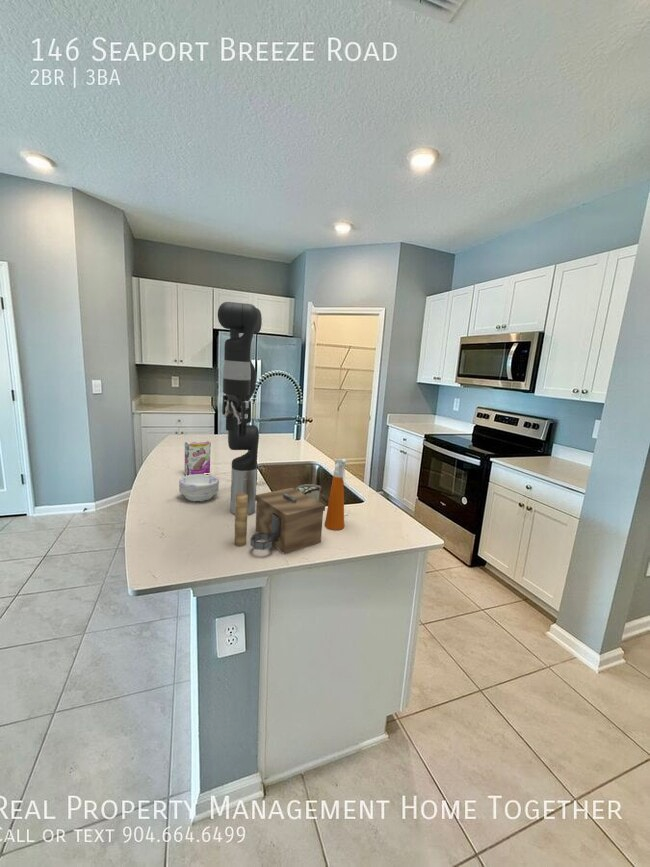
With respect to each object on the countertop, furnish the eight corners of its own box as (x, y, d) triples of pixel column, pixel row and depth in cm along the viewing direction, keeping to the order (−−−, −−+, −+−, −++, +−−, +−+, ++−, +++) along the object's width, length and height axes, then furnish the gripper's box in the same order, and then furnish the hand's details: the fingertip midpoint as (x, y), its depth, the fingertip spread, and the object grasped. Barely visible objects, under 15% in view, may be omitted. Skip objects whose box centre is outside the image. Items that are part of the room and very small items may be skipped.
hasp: (247, 542, 107) (247, 517, 106) (271, 535, 112) (272, 511, 111) (257, 551, 102) (258, 526, 101) (282, 544, 108) (283, 519, 106)
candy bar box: (187, 477, 168) (187, 444, 165) (184, 474, 172) (184, 441, 169) (210, 474, 175) (211, 442, 172) (206, 471, 179) (207, 440, 176)
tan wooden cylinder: (232, 542, 111) (233, 494, 108) (242, 539, 114) (244, 492, 111) (237, 547, 109) (238, 498, 106) (248, 544, 111) (249, 496, 108)
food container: (308, 504, 146) (309, 481, 144) (319, 509, 142) (321, 485, 140) (287, 513, 136) (288, 488, 134) (298, 518, 133) (300, 492, 131)
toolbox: (253, 530, 120) (255, 491, 118) (290, 520, 130) (292, 484, 127) (284, 555, 106) (286, 511, 104) (322, 542, 116) (325, 501, 113)
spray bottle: (330, 536, 120) (336, 461, 115) (322, 522, 130) (327, 452, 126) (350, 534, 122) (356, 461, 117) (340, 521, 132) (346, 453, 128)
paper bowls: (226, 496, 149) (226, 478, 147) (198, 507, 135) (198, 488, 134) (200, 488, 155) (200, 471, 154) (170, 498, 142) (170, 479, 141)
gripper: (261, 380, 97) (258, 437, 100) (238, 375, 107) (237, 427, 111) (235, 379, 92) (233, 440, 96) (214, 374, 103) (213, 429, 106)
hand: (235, 433), depth 103 cm, fingers open, 8 cm apart
